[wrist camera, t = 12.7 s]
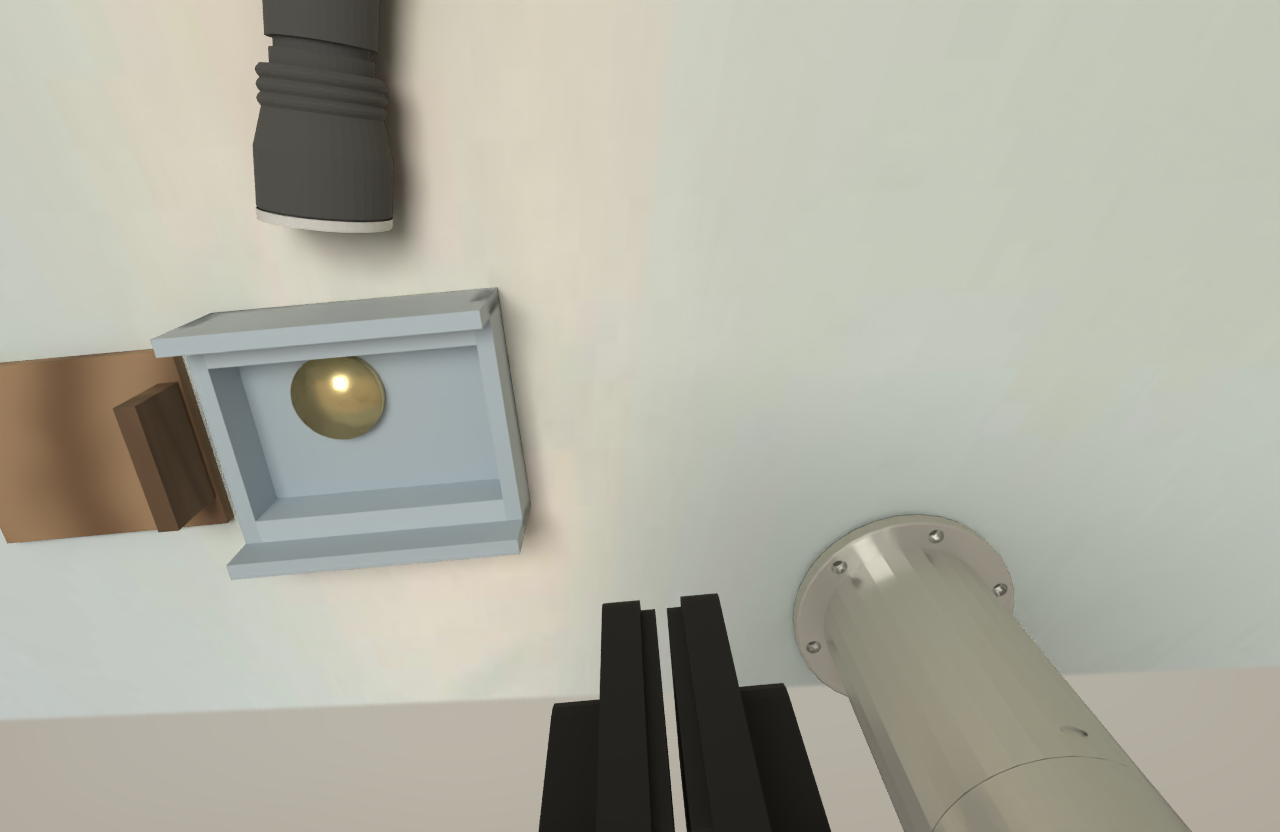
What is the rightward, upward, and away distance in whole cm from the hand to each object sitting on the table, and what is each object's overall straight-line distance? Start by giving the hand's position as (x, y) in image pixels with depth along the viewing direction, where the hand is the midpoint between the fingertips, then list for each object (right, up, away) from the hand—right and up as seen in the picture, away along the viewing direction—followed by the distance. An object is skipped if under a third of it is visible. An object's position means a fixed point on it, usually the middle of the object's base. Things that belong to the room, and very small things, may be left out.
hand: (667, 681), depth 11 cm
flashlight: (-13, +20, +21) cm, 32 cm away
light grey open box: (-14, +4, +27) cm, 31 cm away
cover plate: (-29, +2, +28) cm, 40 cm away
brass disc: (-15, +5, +26) cm, 31 cm away
